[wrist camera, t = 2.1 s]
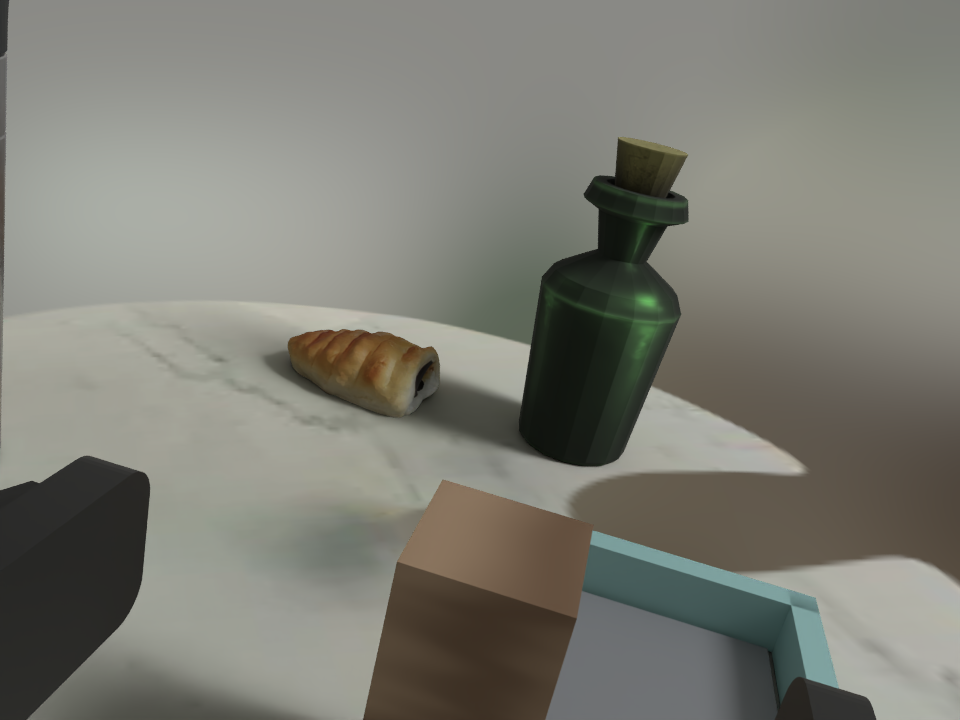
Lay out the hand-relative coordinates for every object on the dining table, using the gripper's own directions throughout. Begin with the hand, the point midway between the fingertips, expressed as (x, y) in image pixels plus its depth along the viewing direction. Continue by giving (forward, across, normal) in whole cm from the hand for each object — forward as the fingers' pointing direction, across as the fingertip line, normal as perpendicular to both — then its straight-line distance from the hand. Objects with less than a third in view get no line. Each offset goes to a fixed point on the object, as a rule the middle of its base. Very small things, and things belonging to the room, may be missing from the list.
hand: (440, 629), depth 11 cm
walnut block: (+12, 0, +16) cm, 19 cm away
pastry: (+40, +12, +16) cm, 45 cm away
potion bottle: (+40, -1, +15) cm, 43 cm away
